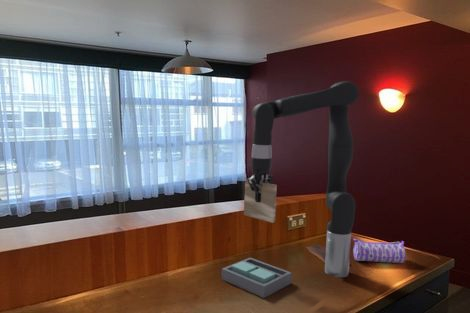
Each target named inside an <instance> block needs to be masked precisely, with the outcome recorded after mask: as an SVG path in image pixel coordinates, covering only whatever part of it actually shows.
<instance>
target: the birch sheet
mask: <svg viewBox="0 0 470 313" xmlns="http://www.w3.org/2000/svg"><path fill="white" fill-rule="evenodd" d="M257 184H258V183H257ZM277 186H278V185H277V184H274V183H271V184H269V183H263V186H262V187H261V202H259V203H258V202H256V201H255V192H254V191H252V190H251V188H250V185H249V183H248V180H247V179H245V180H244V199H243V200H244V201H243V202H244V204H243V216H246V217H250V218H253V219H256V220H257V219H258V220H261V221H264V222H267V223H268V222H269V223H271V224H273V223H275V222H276V209H277V192H278V191H277V189H278V188H277ZM257 187H258V186H257ZM258 189H259V187H258Z"/></svg>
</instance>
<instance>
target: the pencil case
mask: <svg viewBox="0 0 470 313" xmlns="http://www.w3.org/2000/svg"><path fill="white" fill-rule="evenodd" d="M353 241H354V243H353V248H352V251H353V252H352V254H353V257H354V260H355V261H359V262H374V263H375V262H376V263H393V264H404V263H405V261H406V257H407V254H406V249H405V246H404V245H405V241H403V240H401V241H398V240H397V241H394V242H373V241H363V240H360V239H356V238H353Z"/></svg>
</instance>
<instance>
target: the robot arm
mask: <svg viewBox="0 0 470 313" xmlns="http://www.w3.org/2000/svg"><path fill="white" fill-rule="evenodd" d="M359 93H360V92H359V88H358V86H357V85H356V84H355V83H353V82H352V81H346V80H345V81H339V82H336V83H334V84H332V85H331V86H330V88H327V89H323V90H318V91H314V92H307V93H302V94H297V95H292V96H288V97H283V98H279V99H277V100H273V101H272V100H271V101H267V102H266V101H265V102H260V103H258V104H256V105H255V106H254V107H253V109H252V115H253V116H252V117H253V118H254V120H255V124H254V130H253V134H252V148H251V161H250V162H251V165H250V167H251V169H252V174H251V177H248V178H246V180H248V183H249V185H250V188H251V190H252V191H254V192H255V201H256V202H258V203H259V202H261V187H262V186H263V183H269V184H272V181H273V179H274V176H273V175H271V174H270V170H271V169H272V155H273V152H272V151H273V150H272V149H273V148H272V138H273V137H272V136H273V135H272V132H273V127H274V120H275V119H278V118H287V117H291V116H296V115H299V114H303V113H307V112H311V111H315V110H319V109H323V108H328V112H329V115H328V116H329V123H328V124H329V126H328V128H329V129H328V151H327V152H328V156H327V157H328V159H327V160H328V165H327V166H328V168H327V169H328V173H327V174H328V175H327V176H328V178H327V179H328V180H327V188H326V195H325V204H326V207H327V208H328V209H329V210H330V211H331V217H330V218H331V219H330V221H328V222H327V225H326V242H325V244H326V245H325V248H326V257H325V264H324V272H325V274H327V275H330V276H332V277H336V278H341V279H343V278H346V277H348V276H349V273H350V266H349V263H350V261H351V260H350V257H351V243H352V242H351V240H352V228H353V227H354V222H355V215H356V201H355V200H356V199H355V198H354V196H352V194H350V193H348V192H347V175H348V172H349V170H350V168H351V164H352V162H353V156H354V138H353V134H352V131H351V130H352V129H351V127H350V123H349V106H351V105H353V104H354V103H355V102H356V101H357V99H359ZM257 183H258V184H257ZM257 186H258V187H259V189H258V187H257Z"/></svg>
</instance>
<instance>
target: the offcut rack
mask: <svg viewBox="0 0 470 313" xmlns="http://www.w3.org/2000/svg"><path fill="white" fill-rule="evenodd" d="M242 261H243V262H245V263H248V264H251V265H253V266H256V269H259V268H261V269H264V270H266V271H269V272H272V273H274V274H275V279H273V280H271V281H269V282H267V283H265V284H262V283H260V282H257V281H255V280H252V279H250V278H247V277H245V276H243V275H240V274H238V273H235V272H233V271H231V269H232V265H235V264H237V263H240V262H242ZM292 274H293V273H292V272H290V271H288V270H285V269H283V268H280V267H277V266H274V265H271V264H269V263H266V262H263V261H261V260H258V259H255V258H252V257H248V258H245V259H243V260H241V261H237V262H235V263H233V264H230V265H228V266H225V267H223V268H221V280H222V281H225V282H227V283H228V284H229V283H230V284H232V286H233V285H234V286H236V287H238V288H240V289H242V290H245V291H247V292H249V293H252V294H254V295H256V296H258V297H261V298H262V299H264V298H267V297H268V296H270V295H272V294H274V293H276V292H277V291H280V290H281V289H283V288H285V287H287V286H290V285H291V284H292Z"/></svg>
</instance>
